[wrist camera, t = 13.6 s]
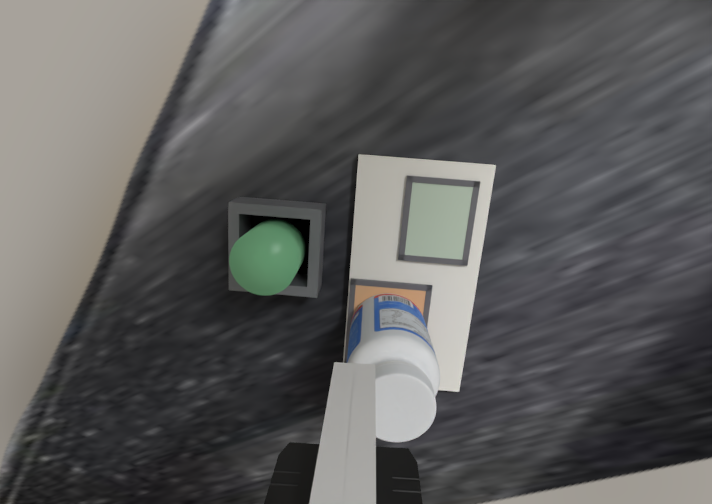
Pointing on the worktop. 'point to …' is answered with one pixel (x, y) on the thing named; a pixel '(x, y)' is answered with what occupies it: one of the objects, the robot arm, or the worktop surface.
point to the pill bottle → (396, 364)
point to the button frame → (312, 211)
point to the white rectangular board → (421, 245)
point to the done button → (267, 257)
